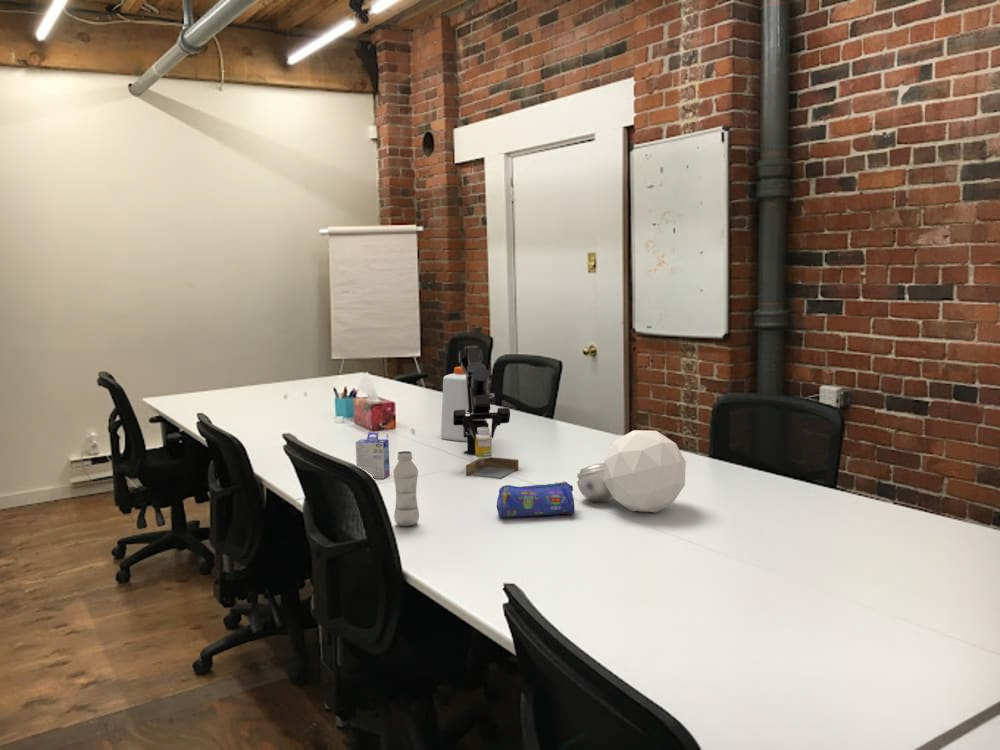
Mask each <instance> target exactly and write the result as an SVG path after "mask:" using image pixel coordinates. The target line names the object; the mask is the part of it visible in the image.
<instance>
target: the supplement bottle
mask: <svg viewBox="0 0 1000 750" xmlns="http://www.w3.org/2000/svg"><path fill="white" fill-rule="evenodd" d="M477 433H478V434H476V439H475V454H474V455H475V458H477V459H479V458H480V459H485V458H490V457H493V456H492V455H493V454H492V453H493V452H492V451H493V450H492V448H493V447H492V439H493V438H492V437H491V433H490V426H489V427H478V428H477Z"/></svg>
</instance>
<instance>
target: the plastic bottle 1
mask: <svg viewBox="0 0 1000 750" xmlns="http://www.w3.org/2000/svg"><path fill="white" fill-rule="evenodd" d="M412 454H413V453H412V451H409V450H404V451H398V452H397V460H398V462H397V464H396V465H395V467H394V468H393V472H392V473H393V476H392V477H393V480H394V486H395V508H394V513H393V518H394V522H395V524H396V525H397V526H401V527H409V526H410V527H412V526H415V525H417V523H418V522H419V519H420V510H419V507H418V499H417V484H418V475H419V470H418V468H417V466H416V465H415V463H414V462H413V461H412V460H413V455H412Z"/></svg>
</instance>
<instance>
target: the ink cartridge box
mask: <svg viewBox="0 0 1000 750" xmlns="http://www.w3.org/2000/svg"><path fill="white" fill-rule="evenodd" d="M372 435H374V436H372ZM389 445H390V443H389V439H388V438H387V439H386V438H379V432H368V433H367V437H366V438H362V439H359V440H357V441H356V442H355V457H356V467H357V466H359V467H361V468H362V469H364V470H366V471H367V472H368V473H370V474H371V475H372V476H373V477H374V478H373V479H385V478H388V477H389V476H391V475H390V474H391V472H390V469H391V468H390V447H389Z"/></svg>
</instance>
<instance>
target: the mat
mask: <svg viewBox="0 0 1000 750" xmlns="http://www.w3.org/2000/svg"><path fill="white" fill-rule="evenodd" d="M514 472H516V471H515V469H507V468H497V467H487V466H486V467H484V468H482V469H480V470H478V471H476V472H474V473H472V474H471V476H470V477H480V478H486V479H487V478H490V479H499V480H503V479H504V478H506V477H507V476H509V475H511V474H512V473H514Z"/></svg>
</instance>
